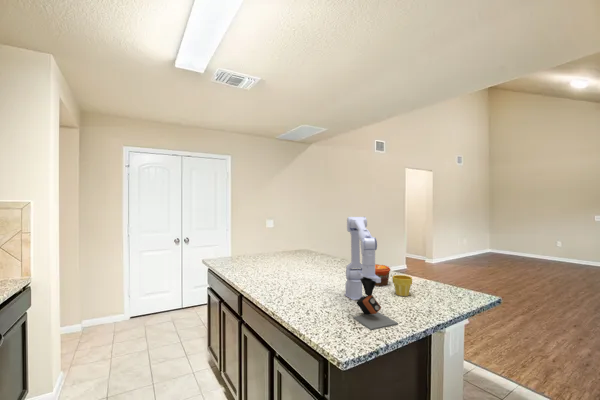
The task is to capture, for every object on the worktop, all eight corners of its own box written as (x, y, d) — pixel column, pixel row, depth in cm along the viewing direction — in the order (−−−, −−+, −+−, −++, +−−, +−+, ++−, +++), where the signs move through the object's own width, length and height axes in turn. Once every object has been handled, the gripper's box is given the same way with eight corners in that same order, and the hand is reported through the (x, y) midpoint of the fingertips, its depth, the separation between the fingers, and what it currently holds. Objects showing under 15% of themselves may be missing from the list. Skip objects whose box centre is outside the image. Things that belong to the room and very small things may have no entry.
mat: (352, 318, 127) (352, 316, 127) (378, 313, 132) (378, 312, 132) (370, 330, 115) (370, 328, 115) (398, 324, 120) (398, 323, 120)
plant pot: (394, 290, 167) (394, 273, 167) (413, 293, 161) (413, 276, 162) (390, 295, 158) (390, 277, 158) (410, 298, 153) (410, 280, 153)
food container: (393, 287, 173) (393, 269, 173) (367, 287, 173) (367, 269, 173) (386, 280, 189) (386, 264, 189) (362, 280, 189) (362, 263, 189)
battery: (361, 296, 133) (373, 294, 125) (370, 308, 132) (383, 307, 124) (355, 302, 131) (367, 300, 122) (364, 315, 130) (377, 314, 122)
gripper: (352, 262, 133) (352, 291, 133) (371, 268, 120) (371, 301, 119) (364, 261, 136) (364, 289, 136) (384, 267, 122) (384, 299, 122)
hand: (368, 294), depth 128 cm, fingers closed
